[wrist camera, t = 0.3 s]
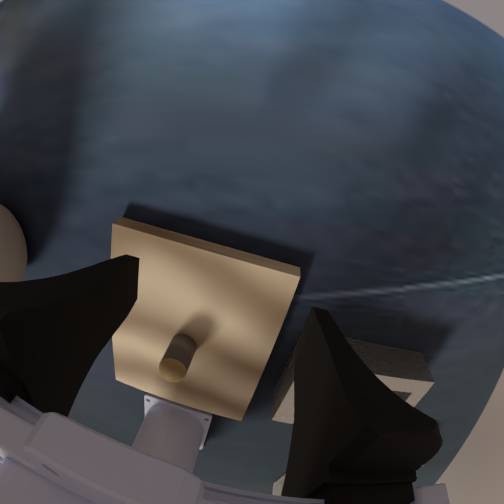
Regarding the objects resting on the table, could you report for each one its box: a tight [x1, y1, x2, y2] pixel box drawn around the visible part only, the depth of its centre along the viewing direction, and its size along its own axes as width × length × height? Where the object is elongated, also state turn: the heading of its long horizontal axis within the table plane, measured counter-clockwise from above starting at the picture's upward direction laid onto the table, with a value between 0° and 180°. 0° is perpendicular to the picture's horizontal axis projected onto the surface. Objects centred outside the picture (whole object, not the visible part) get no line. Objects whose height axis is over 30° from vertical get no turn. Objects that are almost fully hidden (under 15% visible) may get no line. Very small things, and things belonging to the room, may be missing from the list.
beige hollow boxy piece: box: [272, 327, 435, 424], centre depth 24 cm, size 8×12×4 cm, turn 76°
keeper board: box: [111, 217, 300, 421], centre depth 23 cm, size 18×14×6 cm
